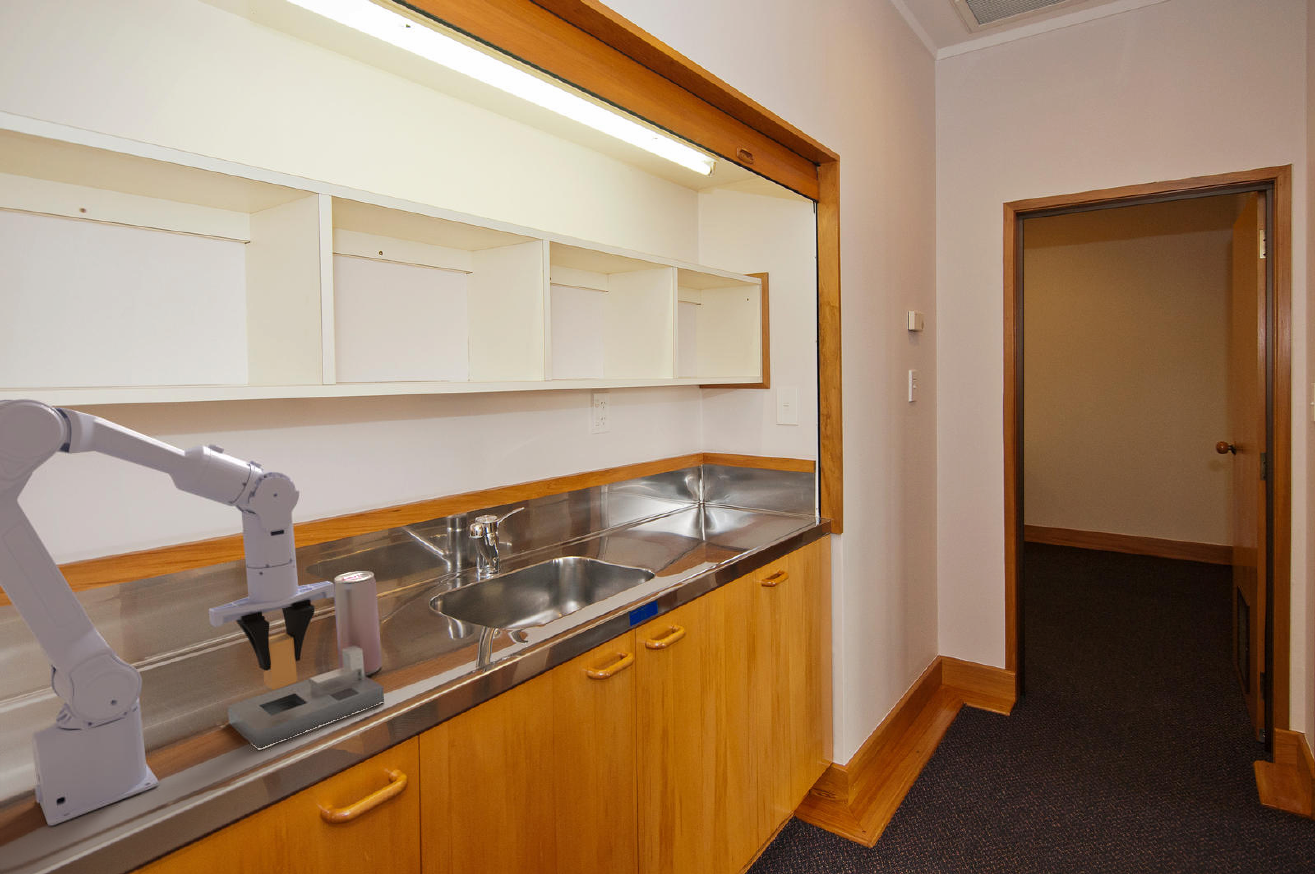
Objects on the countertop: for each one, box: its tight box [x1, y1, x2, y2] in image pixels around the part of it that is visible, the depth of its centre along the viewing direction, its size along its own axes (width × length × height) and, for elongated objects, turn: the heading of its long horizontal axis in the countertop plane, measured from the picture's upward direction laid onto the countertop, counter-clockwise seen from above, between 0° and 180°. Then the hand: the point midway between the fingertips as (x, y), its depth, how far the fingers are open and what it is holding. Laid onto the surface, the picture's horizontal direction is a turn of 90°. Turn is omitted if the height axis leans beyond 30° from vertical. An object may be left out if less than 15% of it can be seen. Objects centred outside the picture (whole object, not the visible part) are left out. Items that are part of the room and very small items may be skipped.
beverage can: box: [333, 570, 383, 677], centre depth 108 cm, size 6×6×15 cm
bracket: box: [309, 646, 365, 696], centre depth 98 cm, size 6×2×4 cm, turn 137°
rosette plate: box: [227, 676, 385, 748], centre depth 95 cm, size 16×11×2 cm
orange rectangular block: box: [262, 632, 298, 691], centre depth 93 cm, size 3×3×6 cm
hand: (280, 663), depth 93 cm, fingers closed on orange rectangular block, 3 cm apart
